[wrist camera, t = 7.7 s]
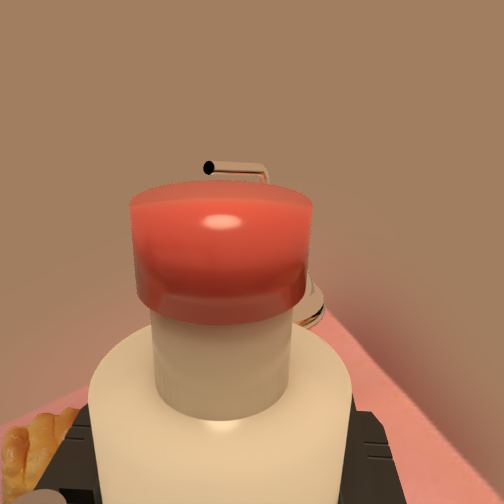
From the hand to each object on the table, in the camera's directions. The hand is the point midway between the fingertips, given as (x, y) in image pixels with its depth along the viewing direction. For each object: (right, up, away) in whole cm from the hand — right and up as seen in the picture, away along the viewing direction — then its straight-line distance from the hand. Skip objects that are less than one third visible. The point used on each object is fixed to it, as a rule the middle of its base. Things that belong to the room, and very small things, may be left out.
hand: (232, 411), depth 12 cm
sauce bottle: (0, -8, 0) cm, 8 cm away
